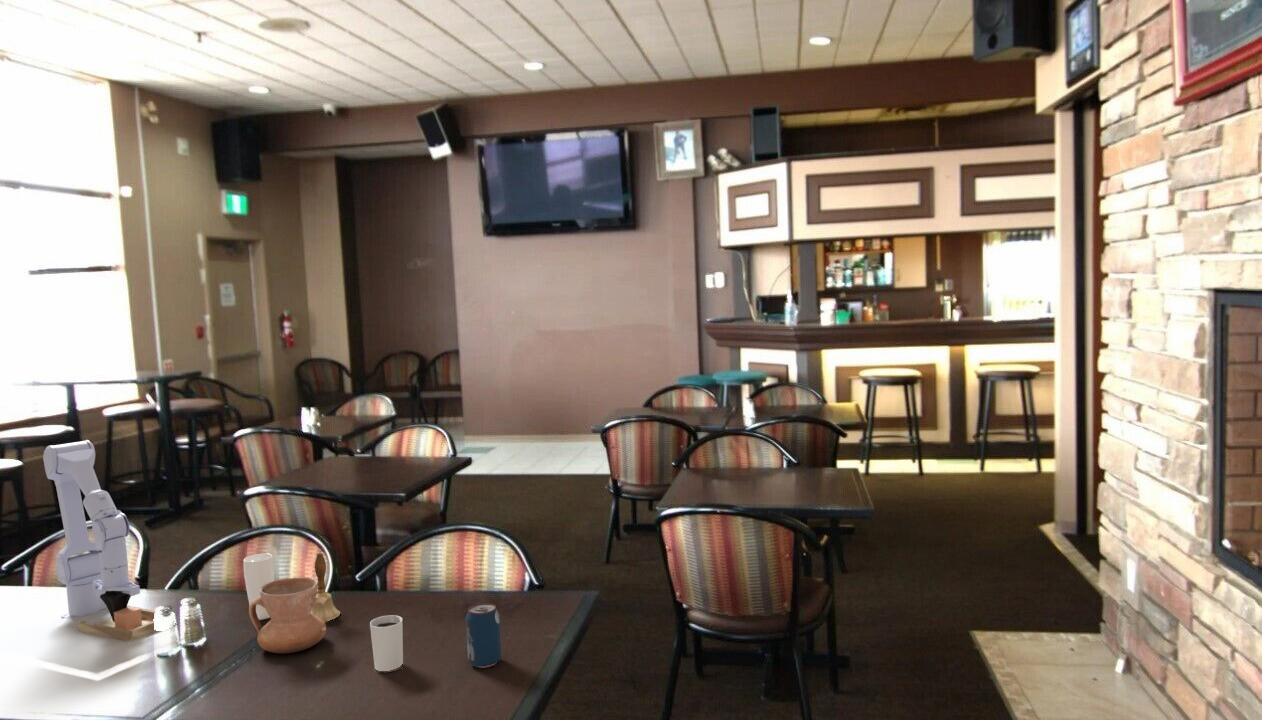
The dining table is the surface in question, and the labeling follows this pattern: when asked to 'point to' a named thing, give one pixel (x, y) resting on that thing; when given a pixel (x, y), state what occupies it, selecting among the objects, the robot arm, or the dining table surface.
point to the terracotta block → (128, 618)
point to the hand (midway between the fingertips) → (118, 620)
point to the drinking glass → (258, 578)
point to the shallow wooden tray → (110, 631)
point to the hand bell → (323, 593)
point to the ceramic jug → (289, 615)
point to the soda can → (483, 634)
